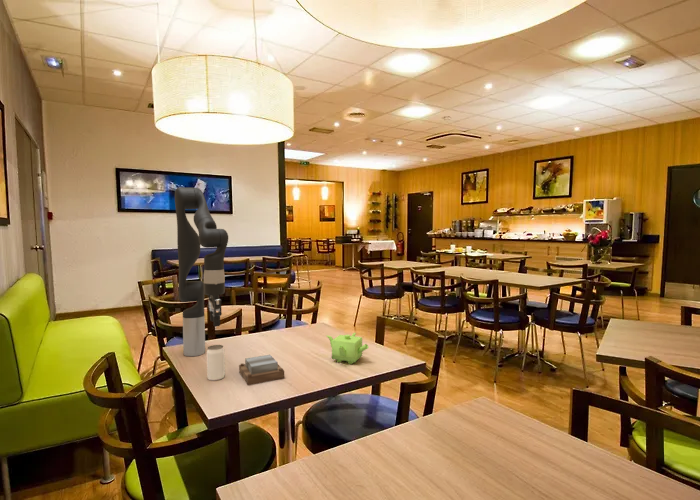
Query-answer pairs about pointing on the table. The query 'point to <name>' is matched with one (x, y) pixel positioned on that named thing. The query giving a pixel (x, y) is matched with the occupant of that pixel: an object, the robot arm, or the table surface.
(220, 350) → the can
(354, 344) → the kettle
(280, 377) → the grey block on base
